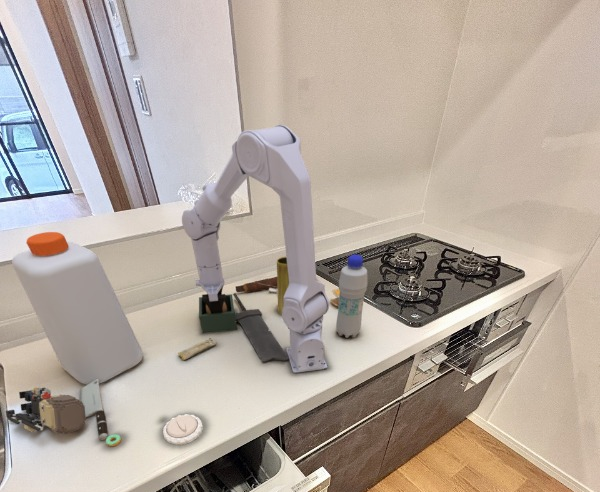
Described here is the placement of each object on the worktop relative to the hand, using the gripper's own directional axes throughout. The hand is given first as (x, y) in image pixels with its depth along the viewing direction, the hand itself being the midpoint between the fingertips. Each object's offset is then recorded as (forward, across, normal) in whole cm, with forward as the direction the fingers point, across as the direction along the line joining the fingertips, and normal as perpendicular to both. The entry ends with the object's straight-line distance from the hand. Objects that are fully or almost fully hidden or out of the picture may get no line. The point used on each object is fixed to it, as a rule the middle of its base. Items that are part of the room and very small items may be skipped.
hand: (217, 313), depth 93 cm
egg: (+2, 0, 0) cm, 2 cm away
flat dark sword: (+2, +5, +9) cm, 10 cm away
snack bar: (+2, +13, -6) cm, 14 cm away
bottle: (+3, +13, +32) cm, 35 cm away
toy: (0, +26, -39) cm, 47 cm away
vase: (+3, -2, +20) cm, 20 cm away
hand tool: (0, -16, +31) cm, 35 cm away
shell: (+1, 0, +33) cm, 33 cm away
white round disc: (+3, +39, -8) cm, 40 cm away
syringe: (+1, -13, +16) cm, 20 cm away
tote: (+2, 0, 0) cm, 2 cm away
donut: (+3, +37, -17) cm, 41 cm away
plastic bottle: (+2, +14, -27) cm, 30 cm away
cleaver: (+2, +31, -28) cm, 42 cm away
